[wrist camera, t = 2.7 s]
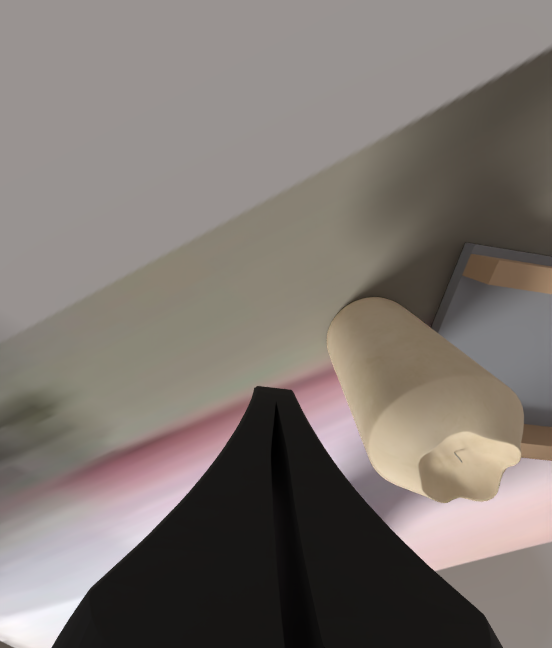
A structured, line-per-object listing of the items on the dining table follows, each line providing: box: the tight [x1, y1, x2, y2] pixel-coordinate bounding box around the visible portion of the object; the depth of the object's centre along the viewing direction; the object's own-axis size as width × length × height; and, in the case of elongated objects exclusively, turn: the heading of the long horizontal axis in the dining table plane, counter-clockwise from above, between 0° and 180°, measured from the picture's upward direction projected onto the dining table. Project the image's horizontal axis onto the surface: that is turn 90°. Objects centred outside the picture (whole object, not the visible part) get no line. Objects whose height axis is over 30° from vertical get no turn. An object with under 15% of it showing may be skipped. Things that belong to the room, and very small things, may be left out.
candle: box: [327, 297, 524, 503], centre depth 13 cm, size 6×6×10 cm
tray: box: [431, 243, 552, 461], centre depth 17 cm, size 13×12×3 cm
